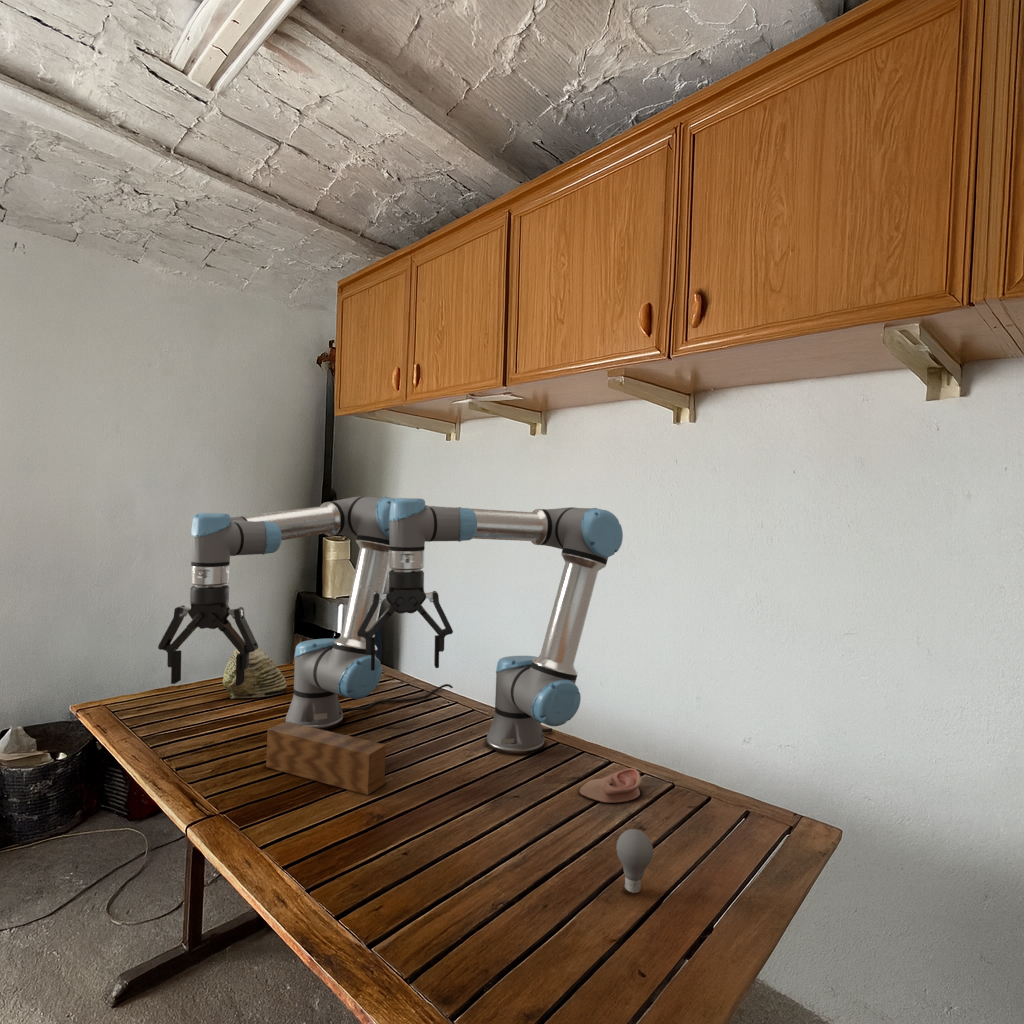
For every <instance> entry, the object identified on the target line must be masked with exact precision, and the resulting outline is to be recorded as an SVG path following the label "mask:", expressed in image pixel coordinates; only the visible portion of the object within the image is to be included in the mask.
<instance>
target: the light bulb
mask: <svg viewBox="0 0 1024 1024" xmlns="http://www.w3.org/2000/svg"><path fill="white" fill-rule="evenodd" d="M615 849H616V854H617V857H618V859H619V861H620V863H621V865H622V867H623V873H624V874H623V875H624V876H625V878H624V888H625V890H627V891H628V892H630V893H634V894H635V893H639V892H640V891H641V889H642V887H641V886H642V879H643V877H644V875H645V871H646V868H647V867H648V866H649V864H650V863H651V861H652V859H653V855H654V847H653V843H652V841H651V838H649V836H648V835H647V834H646V833H645V832H643V831H642V830H641V829H636V828H629V829H627V830H625V831H623V832H622V833H621V834H620V835H619V837H618V839H617V841H616V847H615Z"/></svg>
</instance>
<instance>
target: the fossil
mask: <svg viewBox="0 0 1024 1024" xmlns="http://www.w3.org/2000/svg"><path fill="white" fill-rule="evenodd" d="M239 653H240V652H239V651H238V650H237V649H236V648H235V650H233V651H232V653H231V656H230V657H229V659H228V660H227V663H226V666H225V668H224V671H223V675H222V676H223V677H222V685H223V687H224V688H225V690H226V691H228V693H229V698H230V699H250V698H264V697H271V696H275V695H281V694H284V693H285V691H286V689H287V687H288V686H287V680H286V678H285V676H284V674H283V673H282V672H281V669H279V668H278V667H277V665H276V663H275V662H274V660H273V659H272V658H271V657H270V656H269V655H268V654H267V653H266V652H265V650H264V649H263V648H260V647H258V649H256V650H255V651H253V652H250V653H249V666H248V668H246V669H244V682H243V683H242V684H241V685H236V655H238V654H239Z"/></svg>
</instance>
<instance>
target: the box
mask: <svg viewBox="0 0 1024 1024" xmlns="http://www.w3.org/2000/svg"><path fill="white" fill-rule="evenodd" d="M386 753H387V744H386V743H385V744H384V743H380V742H376V741H372V740H368V739H363V738H359V737H355V736H350V735H346V734H342V733H338V732H333V731H329V730H321V729H317V728H312V727H308V726H304V725H300V724H295V723H291V722H286V721H284V722H282V723H279V724H277V725H275V726H272V727H270V728H268V729H267V735H266V760H265V761H266V762H265V767H266V768H268V769H272V770H275V771H278V772H282V773H286V774H290V775H294V776H298V777H300V778H304V779H307V780H312V781H315V782H318V783H322V784H325V785H330V786H333V787H337V788H341V789H344V790H348V791H352V792H356V793H359V794H362V795H366V796H368V795H370V794H372V793H373V792H375V791H377V790H378V789H379V788H381V787H382V786H384V785H385V780H386V755H387V754H386Z"/></svg>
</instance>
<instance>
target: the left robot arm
mask: <svg viewBox="0 0 1024 1024" xmlns="http://www.w3.org/2000/svg"><path fill="white" fill-rule="evenodd" d="M395 498H396V497H395ZM395 498H394V497H389V496H365V495H360V496H352V497H348V498H343V499H337V500H331V501H326V502H323V503H321V504H320V506H314V507H305V508H296V509H290V510H289V509H288V510H281V511H272V512H271V511H270V512H264V513H257V514H248V515H241V516H231V515H230V514H229V513H224V512H198V513H196V514H194V515H193V517H192V522H191V531H190V538H191V542H190V545H191V546H190V548H191V549H190V584H192V585H191V587H190V591H189V592H190V593H189V594H190V595H189V602H190V606H189V607H186V605H183V604H182V605H179V606H177V607H175V608H174V611H173V617H172V618H171V621H170V623H169V626H168V627H167V629H166V631H165V632H164V634H163V636H162V638H161V640H160V642H159V643H158V645H157V648H158V650H160V651H164V652H166V653H167V660H166V661H167V663H166V664H167V667H168V668H171V669H170V684H171V685H176V684H177V683H178V682H181V680H182V650H181V649H180V647H181V646H182V645H183V643H184V642H185V641H186V640H187V639H188V638H189V637H190V636H191V635H192V634H193V632H194V631H195V630H196V629H198V628H199V630H202V629H203V630H204V629H210V630H216V629H218V630H219V631H220V632H222V634H223V635H224V636H225V637H226V638H227V639H228V640H229V642H230V643H231V644H232V646H233V647H234V648H235V650H236V649H237V650H238V651H239V652H240V653H239V654H238V655H236V685H241V684H242V683H243V682H244V669H246V668H248V666H249V653H250V652H253V651H255V650H256V649H258V648H259V643H258V642H257V640H256V638H255V636H254V633H253V632H252V631H253V630H251V627H250V625H249V623H248V621H247V619H246V617H245V609H244V607H242V606H239V607H238V608H237V607H236V608H230V604H229V602H230V586H229V585H227V584H229V583H230V563H231V562H230V561H231V557H237V556H251V555H263V556H264V555H267V554H273V553H275V552H277V551H278V550H279V549H280V547H281V545H282V541H285V540H292V539H298V538H299V539H300V538H304V537H310V536H317V535H323V534H324V535H326V536H328V537H334V536H351V537H356V538H355V542H356V544H357V545H358V547H359V551H358V556H357V560H356V565H355V569H354V574H353V578H352V583H351V588H350V592H349V597H348V603H347V607H346V612H345V616H344V622H343V626H342V630H341V635H340V636H339V637H338V638H331V637H329V638H317V639H316V638H315V639H308V640H304V641H300V642H299V643H298V644H297V645H296V646H295V650H294V651H295V652H294V655H293V658H294V672H293V695H292V696H293V697H292V699H291V702H290V704H289V708H288V711H287V713H286V715H285V722H291V723H295V724H300V725H304V726H308V727H312V728H317V729H321V730H325V731H329V730H332V729H335V728H337V727H339V726H340V725H342V723H343V722H344V713H343V712H346V711H363V710H367V709H369V708H371V707H373V706H374V705H377V704H382V703H401V702H411V701H417V700H422V699H426V698H428V697H429V696H431V695H432V694H433V693H435V692H438V691H440V690H441V689H443V688H446V687H448V688H450V689H453V688H454V687H453V685H452V684H450V683H445V684H442V685H440V686H438V687H436V688H434V689H432V690H430V692H429V693H427V694H425V695H422V696H417V697H410V698H400V699H399V698H398V699H394V698H393V699H391V698H390V699H389V698H388V699H380V700H376V701H373V702H371V703H370V704H368V705H365V706H361V707H360V706H359V707H343V708H342V706H341V702H340V699H339V695H340V696H341V697H343V698H345V699H347V698H348V699H352V700H360V699H364V698H366V697H368V696H369V695H370V694H371V693H372V692H374V690H376V688H377V687H378V685H379V683H380V681H381V678H382V674H383V667H382V664H381V661H380V659H379V658H378V657H377V652H378V647H377V645H376V644H375V670H371V654H366V639H365V638H363V637H359V636H358V635H357V632H358V629H359V627H360V625H361V623H362V621H363V620H364V618H365V616H366V614H367V612H368V610H369V608H370V606H371V604H372V602H373V597H374V593H375V592H376V591H377V592H379V593H384V591H385V586H386V582H387V577H388V573H389V569H390V568H389V550H390V549H389V546H390V538H389V515H390V505H391V501H392V500H393V499H395ZM381 606H382V603H379V604H378V607H377V609H376V611H375V613H374V615H373V616H372V618H371V620H370V622H369V624H368V626H367V628H366V630H365V631H369V629H370V628H371V627H372V626H373V625H374V624H375V622H376V621H377V620H378V619H379V614H380V610H381ZM186 616H189V617H190V618H191V621H190V622H189V623H188V624H187V625H186V627H185V628H183V630H182V632H181V633H179V635H178V636H177V637H176V638H175V639H174V637H175V636H176V634H177V631H178V630H179V629H180V626H181V625H182V622H183V621H184V619H185V617H186ZM229 616H231V618H232V619H234V623H235V624H236V627H237V629H238V631H239V633H240V634H239V633H238V632H237V630H236V629H235V628H234V627H233V626H232V623H231V621H230V620H229V619H228V618H229ZM375 636H376V633H375V634H374V636H373V637H375ZM173 639H174V640H173ZM178 649H179V650H178Z"/></svg>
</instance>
